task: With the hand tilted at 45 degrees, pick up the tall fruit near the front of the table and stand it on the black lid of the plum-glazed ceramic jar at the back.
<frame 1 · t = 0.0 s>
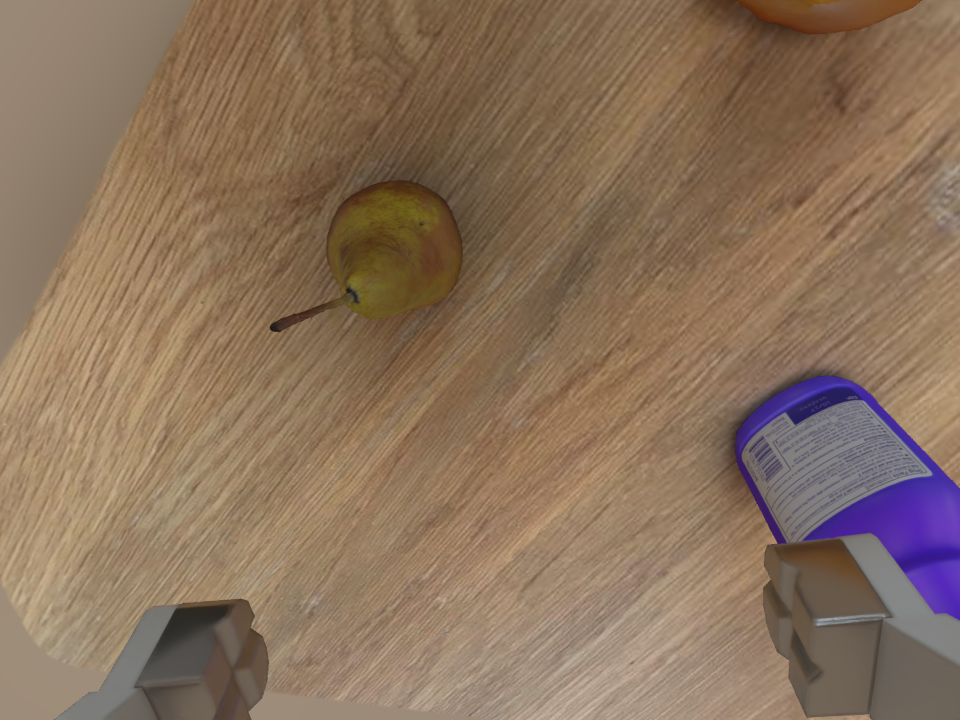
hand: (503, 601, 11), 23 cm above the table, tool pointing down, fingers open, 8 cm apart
fruit 2: (405, 229, 32), on the table
bottle: (794, 424, 37), on the table
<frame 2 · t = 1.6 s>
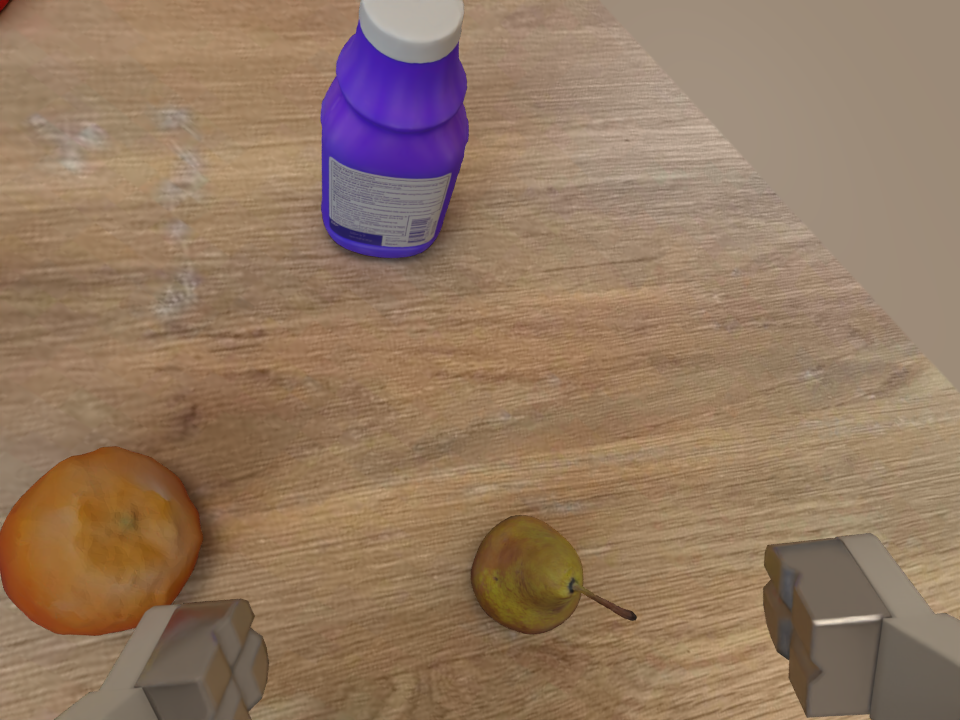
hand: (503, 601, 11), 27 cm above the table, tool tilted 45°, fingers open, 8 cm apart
fruit 2: (512, 575, 38), on the table
fruit: (127, 548, 35), on the table
bottle: (382, 224, 44), on the table
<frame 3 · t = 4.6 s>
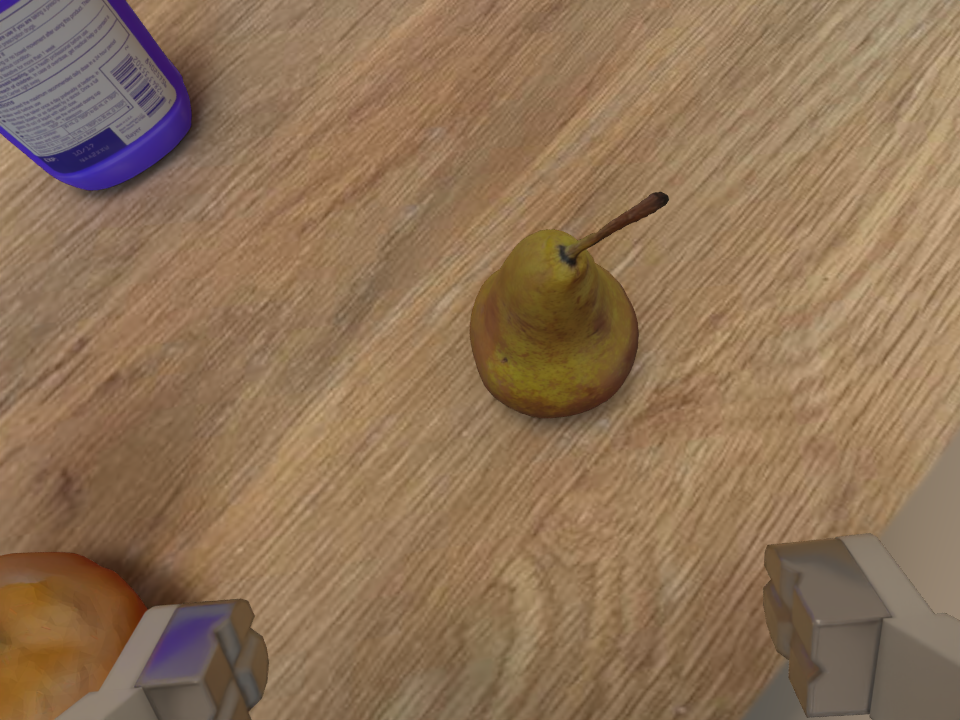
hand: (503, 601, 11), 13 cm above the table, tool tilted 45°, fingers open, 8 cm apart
fruit 2: (552, 363, 27), on the table
fruit: (96, 675, 25), on the table
bottle: (133, 138, 33), on the table
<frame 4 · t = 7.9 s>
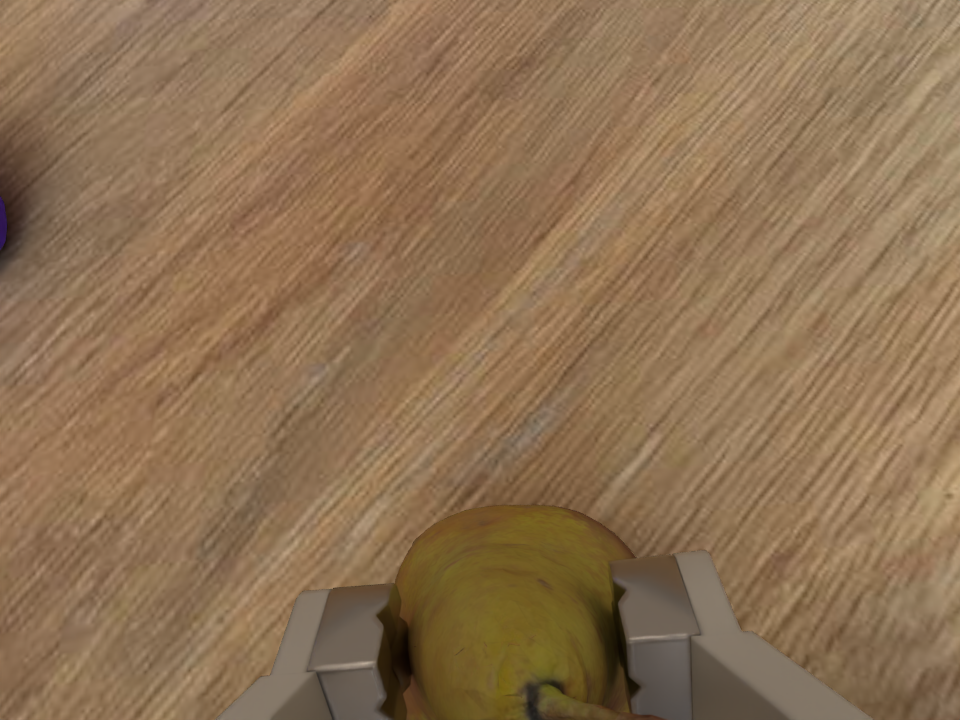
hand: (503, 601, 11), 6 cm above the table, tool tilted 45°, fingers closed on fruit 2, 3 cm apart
fruit 2: (528, 630, 17), on the table, touching gripper
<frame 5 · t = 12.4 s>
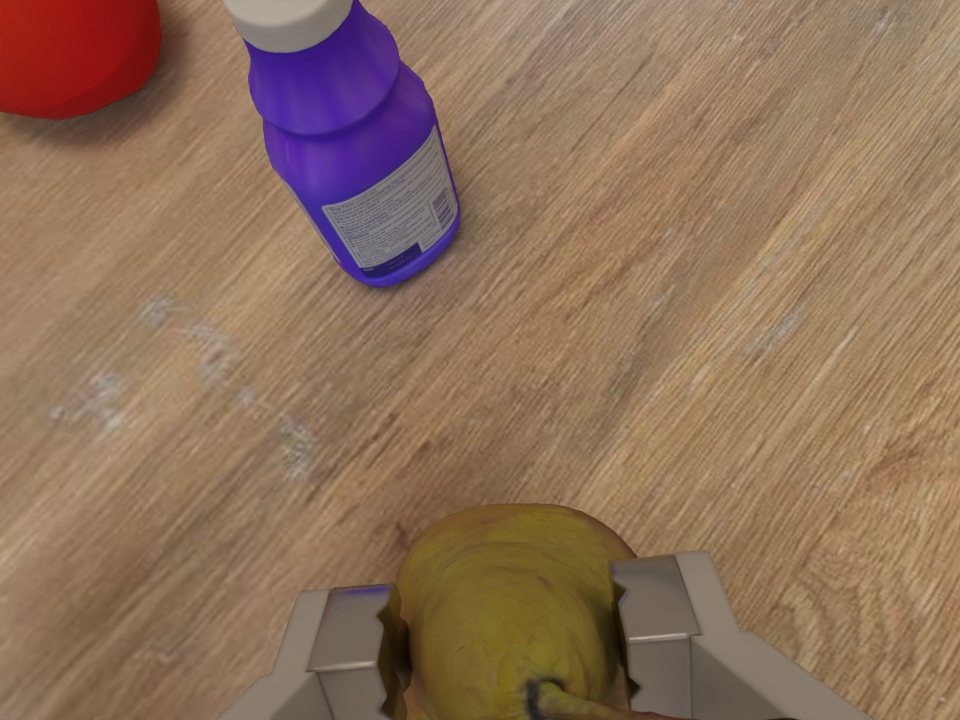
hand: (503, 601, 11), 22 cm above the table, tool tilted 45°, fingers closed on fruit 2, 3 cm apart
fruit 2: (528, 628, 17), point 15 cm above the table, touching gripper
bottle: (402, 238, 39), on the table
tomato: (96, 77, 45), on the table
when the fingers open (17 cm above the table, at t = 17.5 s): fruit 2 stays where it is, resting on jar lid.
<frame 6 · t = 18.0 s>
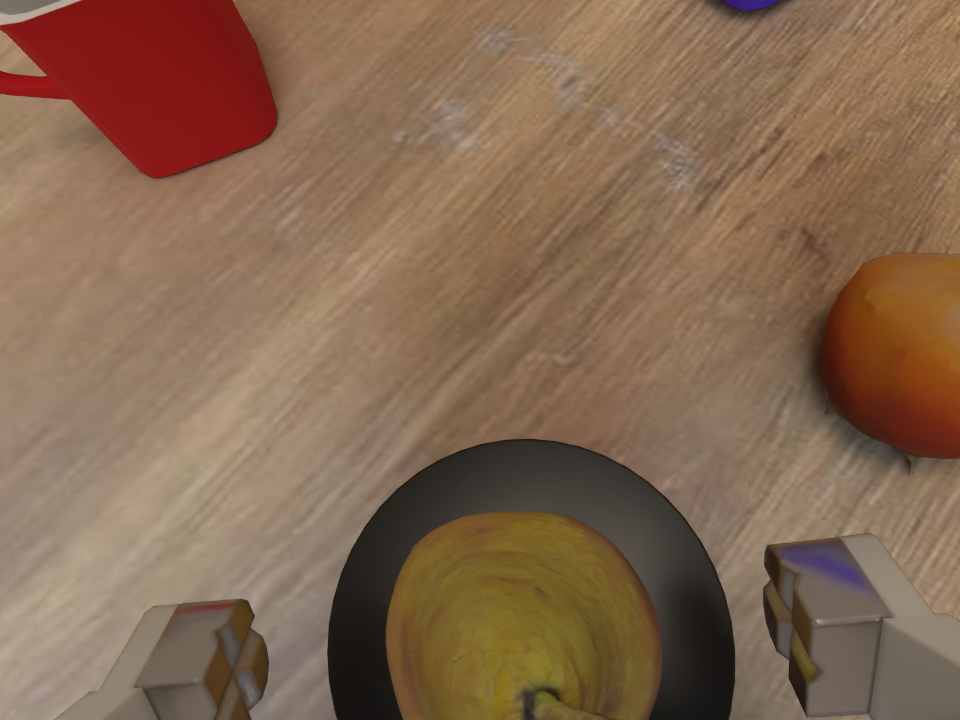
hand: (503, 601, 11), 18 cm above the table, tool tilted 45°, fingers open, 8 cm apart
fruit 2: (524, 634, 17), point 11 cm above the table, touching jar lid
fruit: (896, 381, 29), on the table
jar lid: (525, 637, 18), point 11 cm above the table, screwed on, not yet turned, touching fruit 2
mug: (167, 119, 38), on the table
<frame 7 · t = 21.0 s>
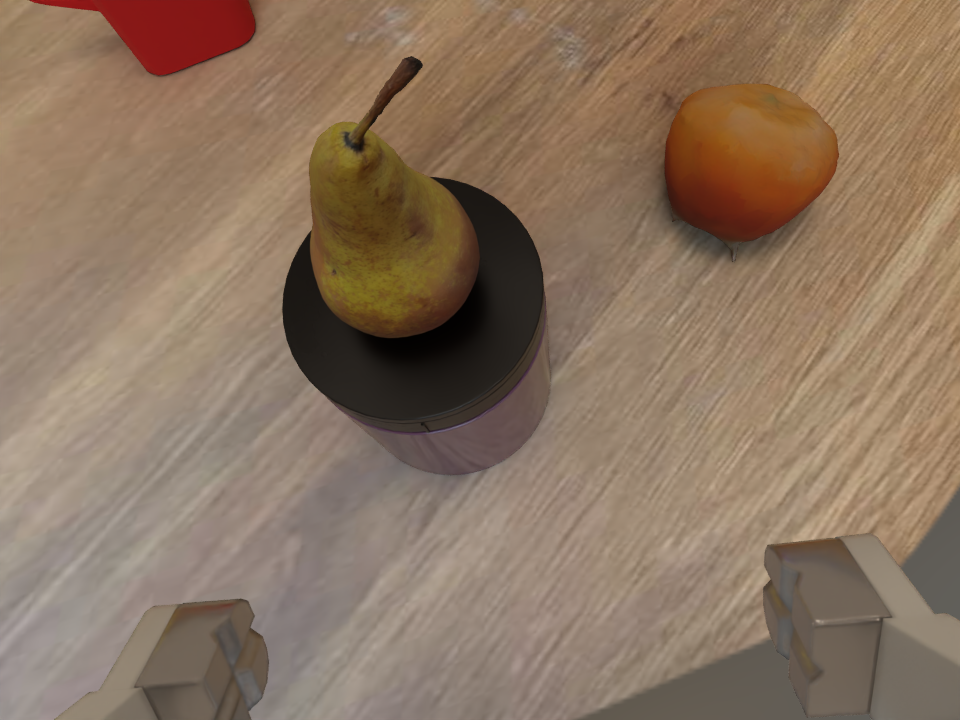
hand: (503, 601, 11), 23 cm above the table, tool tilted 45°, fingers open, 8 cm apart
fruit 2: (411, 291, 27), point 11 cm above the table, touching jar lid
fruit: (728, 199, 39), on the table
jar: (454, 379, 37), on the table
jar lid: (413, 296, 27), point 11 cm above the table, screwed on, not yet turned, touching fruit 2
mug: (168, 31, 47), on the table
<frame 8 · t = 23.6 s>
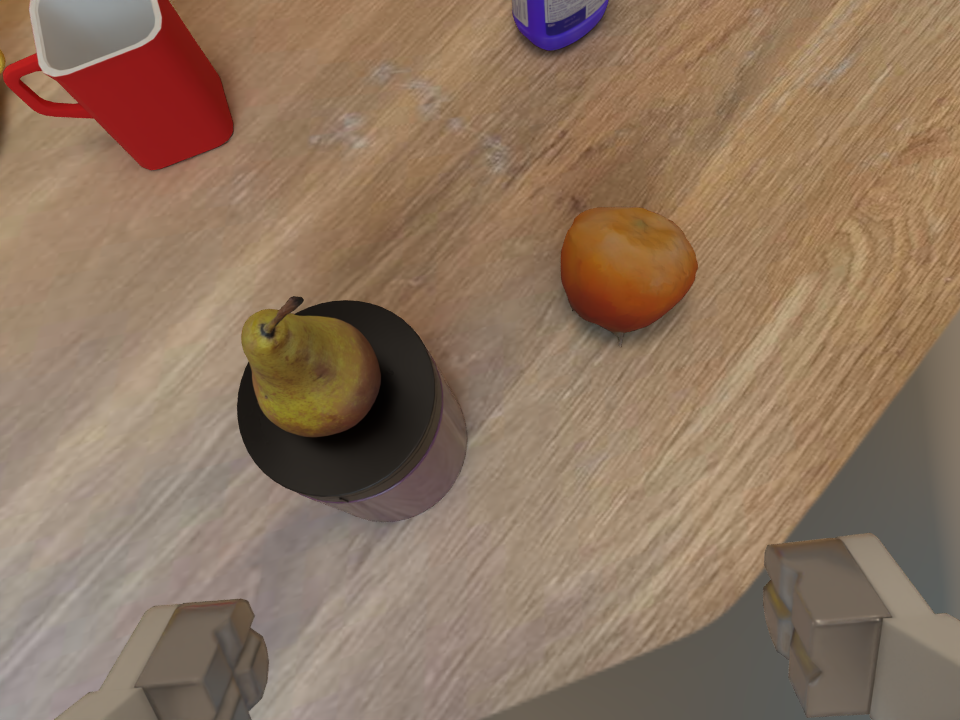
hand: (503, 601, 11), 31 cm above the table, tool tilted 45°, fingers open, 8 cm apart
fruit 2: (335, 393, 35), point 11 cm above the table, touching jar lid
fruit: (620, 291, 46), on the table
jar: (389, 441, 45), on the table
jar lid: (337, 396, 35), point 11 cm above the table, screwed on, not yet turned, touching fruit 2
bottle: (561, 22, 54), on the table
mug: (159, 129, 55), on the table
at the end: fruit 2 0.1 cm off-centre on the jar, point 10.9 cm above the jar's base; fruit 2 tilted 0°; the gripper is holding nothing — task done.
